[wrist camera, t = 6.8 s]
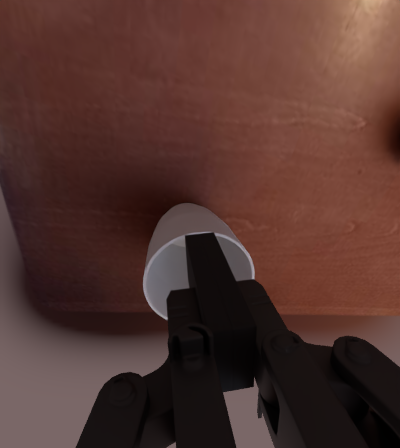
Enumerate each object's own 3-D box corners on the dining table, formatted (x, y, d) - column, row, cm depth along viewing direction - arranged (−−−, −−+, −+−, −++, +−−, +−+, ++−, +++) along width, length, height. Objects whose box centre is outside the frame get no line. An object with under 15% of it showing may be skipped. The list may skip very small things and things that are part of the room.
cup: (191, 271, 32) (206, 340, 23) (130, 233, 29) (119, 296, 20) (239, 217, 30) (276, 269, 21) (179, 171, 27) (191, 209, 18)
